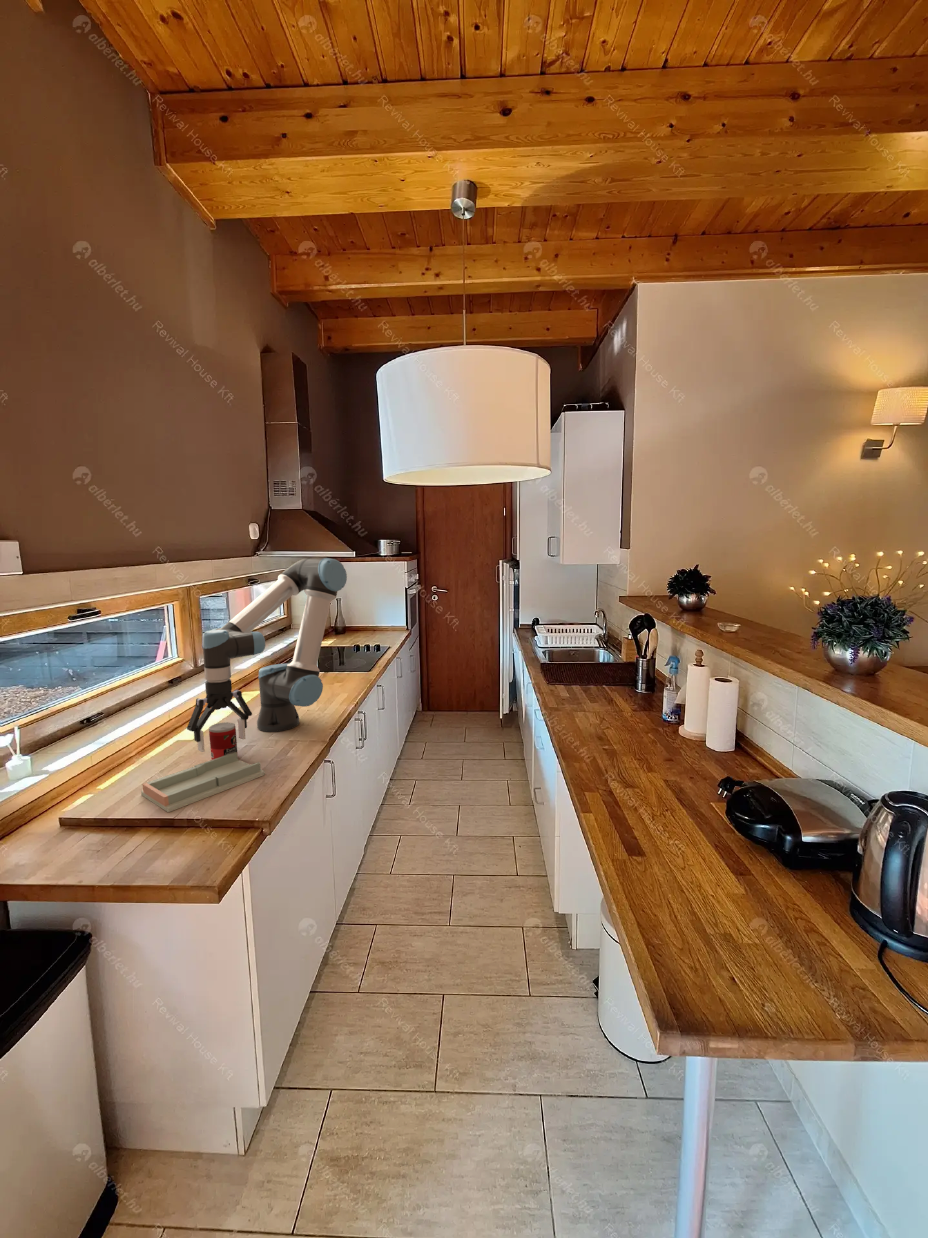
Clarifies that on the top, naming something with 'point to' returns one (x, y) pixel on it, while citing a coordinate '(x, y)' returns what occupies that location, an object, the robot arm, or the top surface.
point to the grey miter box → (200, 781)
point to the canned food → (222, 739)
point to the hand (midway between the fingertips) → (222, 744)
